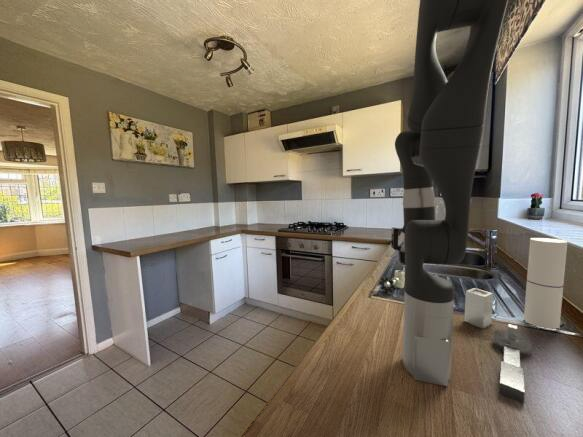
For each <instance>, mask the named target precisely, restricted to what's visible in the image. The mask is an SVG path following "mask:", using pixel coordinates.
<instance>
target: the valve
mask: <svg viewBox="0 0 583 437" xmlns="http://www.w3.org/2000/svg"><path fill="white" fill-rule="evenodd" d="M378 284H379V285H381V287H380V290H384V292H385V291H386V292H388V293H392V294H393V293H394V292H395V291H394V289H396V288H397V287H398V288H397V289H403V288H404V289H405V270H404V271H403V270H399V269H398V270H395V271H394V277H392V278H391V279H390V276H388V275H387V276H385V277H384V276H382V277H380V281H378ZM386 292H385V293H386Z"/></svg>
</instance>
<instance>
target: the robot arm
mask: <svg viewBox="0 0 583 437" xmlns="http://www.w3.org/2000/svg"><path fill="white" fill-rule="evenodd" d="M508 2H509V0H419V6H418V18H417V25H416V26H417V28H416V29H417V30H416V38H415V39H416V41H415V54H414V69H413V87H412V94H411V98H410V104H409V110H408V114H407V118H406V119H407V121H406V123H407V127H408V128H409V130H404V131H401V132H400V133H398V135H397V136H396V138H395V141H394V149H395V152H396V155H397V157H398V160H399V163H400V167H401V171H402V176H403V177H402V180H403V182H402V184H403V194H402V207H403V209H402V210H403V226H402V227H395V226H393V227H392V228H391V240H390V244H391V245H390V247H391V248H392V249H393V250H394V251H398V261H399V262H400V263H401V264H402V266H404V272H405V276H404V277H405V282H404V301H403V302H404V305H403V335H402V336H403V337H402V339H403V340H402V342H403V343H402V363H403V364H402V365H403V367H404V369H405V370H406V371H407V372H408V373H409V374H410V375H411V376H412V378H413V380H414V381H419V382H422V383H428V384H434V385H438V386H444V387H448V386H449V381H450V379H451V372H452V371H451V370H452V348H453V347H452V346H453V328H454V327H453V325H454V324H453V323H454V322H453V321H454V307H455V306H454V304H455V303H454V302H455V287H454V285H453V284H452V282H451V281H449V280H448V279H445V278H444V277H440V276H438V275H436V274H433V273H431V272H428V271H427V270H426V269H424V264H429V265H431V264H432V265H443V266H444V265H446V266H447V265H448V266H451V265H452V266H454V265H459V264H460V263H461V262H462V261H463V259H464V258H465V255H466V252H467V247H468V238H469V225H470V212H471V211H470V210H471V198H472V191H473V184H474V178H475V174H476V168H477V163H478V158H479V153H480V147H481V143H482V139H483V138H482V137H483V132H484V124H485V119H486V118H485V117H486V110H487V102H488V97H489V96H488V95H489V89H490V88H489V87H490V82H491V76H492V71H493V65H494V61H495V55H496V51H497V47H498V44H499V39H500V35H501V31H502V26H503V23H504V19H505V14H506V10H507V7H508ZM466 27H467V28H468V27H470V30H469V31H470V32H469V36H468V39H467V44H466V47H465V50H464V52H463V55H462V56H461V59H460V61H459V63H458V64H457V66H456V68H455V69H454V71H453V73H452V75H451V76H450V77H449V79H447V77H446V74H445V72H444V71H443V69H442V67H441V66H442V65H441V64H440V62H439V58H438V55H437V50H436V45H437V44H436V42H437V34H438V33H440V32H447V31H451V30H452V31H453V30H457V29H461V28H466ZM412 158H419V159H420V162H421V164H419V163H415V161H413V159H412ZM434 185H435V187H436V188H437V190H438V192H439V194H440V195H441V196H440V197H441V198H442V200H443V203H444V207H445V217H444V219H440V220H439V219H436V202H435V200H436V199H435V198H436V196H435V190H434ZM401 234H404V238H403V239H402V241H401V243H400V244H399V236H401Z"/></svg>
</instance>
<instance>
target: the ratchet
mask: <svg viewBox="0 0 583 437" xmlns="http://www.w3.org/2000/svg"><path fill="white" fill-rule="evenodd" d="M507 326H508V327H507V330H506V329H495V330H494V331H493V333H492V334H493V337H492V344H493V345H494V347H497V349H499V350H500V351H503V361H502V360H500V373H499V374H500V375H499V376H500V377H499V389H498V391H499V394H501V395H502V396H505V397H507V398H510V399H513V400H514V401H517V402H520V403H523V404H525V393H526V392H525V378H524V377H525V376H524V368H523V367H521V359H520V357H524V358H525V357H526V358H527V357H530V356H531V355H532V347H533V343H532V341H531V340H530V339H529V338H528V337H526V336H524V335H522V334H520V333H518V325H514V324H510V323H508V325H507Z"/></svg>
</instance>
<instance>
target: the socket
mask: <svg viewBox="0 0 583 437" xmlns="http://www.w3.org/2000/svg"><path fill="white" fill-rule="evenodd" d="M464 301H465V302H464V318H463V319H464V320H463V321H464V322H466V323H468V324H470V325H472V326H475V327H477V328H480V329H482V330H483V329H485V328H488V327H489V326H491V325H492V322H493V321H492V319H493V309H494V308H493V306H494V293H493V292H489V291H486V290H482V289H479V288H477V287H473V288H470V289H467V290H466V291H465V300H464ZM490 324H491V325H490ZM487 326H488V327H487Z"/></svg>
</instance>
